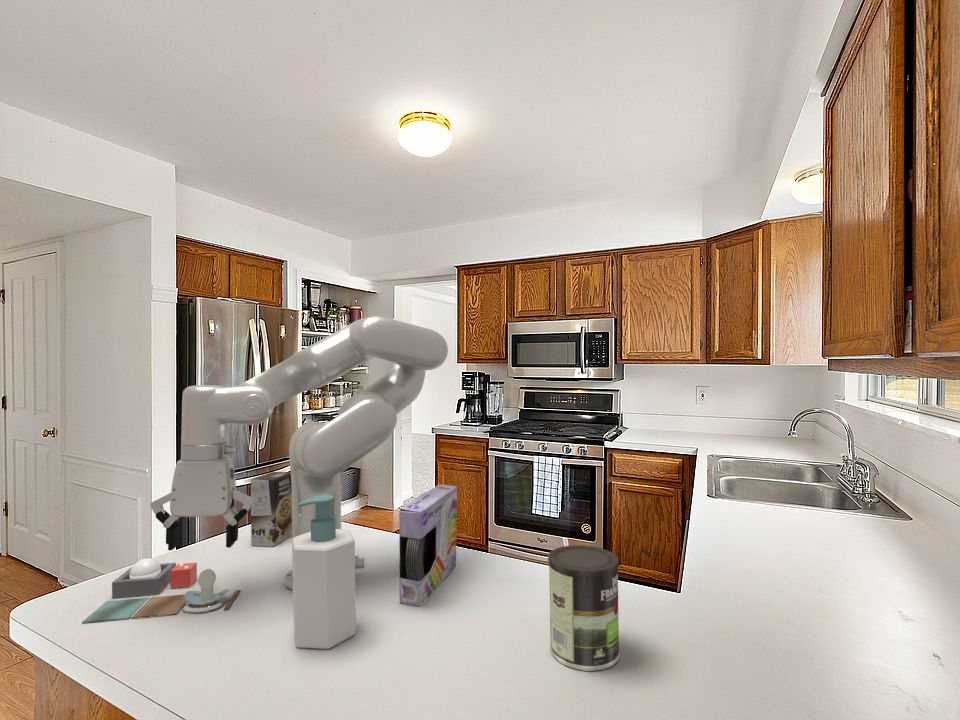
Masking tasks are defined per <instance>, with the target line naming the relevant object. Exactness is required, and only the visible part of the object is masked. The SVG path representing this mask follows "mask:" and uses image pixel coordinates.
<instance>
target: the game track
mask: <svg viewBox="0 0 960 720" xmlns="http://www.w3.org/2000/svg"><path fill="white" fill-rule="evenodd" d="M240 593H241V589H235V591H234V592H233V594H232V595H231V597H230V598H229V600H228V601H227V603H226V604H225V606H224V608H223V611H229V609H231V606H232V605H233V603H234V602H235V601H236V600H237V598H238V596H239V595H240ZM148 599H149V600H148ZM147 600H148V601H147ZM146 601H147V602H146ZM145 602H146V603H145ZM186 602H187V601H186V600H185V593H184V594H176V595H173V594H172V595H165V596H164V595H162V596H152V597H137V598H129V599H128V598H126V599H117V600H106V601H105V602H103V604H101V605H100V606H99V607H97V609H96V610H95V611H92V613H91V614H90V615H88V616H87V617H86V618H85V619H84V620H82V621H81V622H82V624H83V625H84V624H91V623H102V622H111V621H112V622H114V621H115V622H116V621H123V620H124V619H126V620H130V619H131V618H137V619H139V618H138V617H147V618H151V617H150V616H158V617H160V616H159V615H169V616H172V615H171V614H177V613H179V612H180V611H181V610H182V609H183V608H184V606H186V604H187V603H188V602H187V603H186ZM144 603H145V604H144ZM185 603H186V604H185ZM143 604H144V605H143ZM142 605H143V606H142ZM141 606H142V607H141ZM140 607H141V608H140ZM182 607H183V608H182ZM139 608H140V609H139ZM181 608H182V609H181ZM138 609H139V610H138ZM180 609H181V610H180ZM137 610H138V611H137ZM179 610H180V611H179ZM136 611H137V612H136ZM135 612H136V613H135ZM134 613H135V614H134ZM133 614H134V615H133ZM132 615H133V616H132ZM177 615H178V614H177ZM131 616H132V617H131ZM130 617H131V618H130ZM129 618H130V619H129Z"/></svg>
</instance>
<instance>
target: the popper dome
mask: <svg viewBox="0 0 960 720" xmlns="http://www.w3.org/2000/svg"><path fill="white" fill-rule="evenodd" d="M160 564H161V563H160V562H159V561H158V560H157V559H154V558H149V557H147V558H142V559H140V560H138V561H137V562H135V563H134V564H133V565H132V566H133V567H132V566H131V567H132V568H131V567H130V568H131V570H130V574H129V579H138V578H150V577H156V576H157V575H158V574H159V573H160V572H161V566H160Z"/></svg>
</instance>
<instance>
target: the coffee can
mask: <svg viewBox="0 0 960 720" xmlns="http://www.w3.org/2000/svg"><path fill="white" fill-rule="evenodd" d="M547 558H548V559H547V561H548V564H549V565H548V566H549V572H548V573H549V615H550V616H549V617H550V619H549V621H550V622H549V624H550V625H549V627H550V629H549V630H550V633H549V634H550V645H549V650H550V653H551V655H552V657H553V658H554V659H555V660H556V661H557V662H559V663H560V664H561V665H564V666H566V667H568V668H571V669H573V670H579V671H583V672H585V671H586V672H598V671H604V670H607V669H609V668H611V667H613V666H614V665H616V664H617V663H618V661H619V660H620V655H621V654H620V638H619V637H620V635H619V633H620V631H619V628H620V626H619V568H618V567H619V558H618V556H617V555H616V554H615V553H613V552H611V551H610V550H607V549H604V548H603V547H602V548H601V547H597V546H592V545H584V544H583V545H581V544H578V545H577V544H575V545H572V544H571V545H564V546H560V547H556V548H554V549H552V550H551V551H550V552H548V555H547Z"/></svg>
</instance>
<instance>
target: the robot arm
mask: <svg viewBox="0 0 960 720" xmlns="http://www.w3.org/2000/svg"><path fill="white" fill-rule="evenodd" d="M448 347H449V346H448V343H447V341H446V339H445V338H444V336H443V335H442V334H440V333H439V332H438V331H436V330H433V329H431V328H427V327H423V326H420V325H419V326H418V325H417V324H412V323H408V322H405V321H401V320H397V319H393V318H391V317H386V316H380V315H371V316H367V317H363V318H360V319H357V320H355V321H354V322H353V321H352V322H351V323H349V324H348V325H346V326H344V327H342V328H340V329H338V330H337V331H335V332H333V333H331V334H330V335H327V336H326V337H324V338H322V339H320V340H319V341H316V342H314V343H313V344H311V345H308V346H307V347H305V348H303V349H302V350H300V351H298V352H296V353H294V354H293V355H291V356H290V357H288V358H287V359H285V360H283V361H281V362H279V363H277V364H276V365H273V366H271V367H270V368H268V369H266V370H264V371H262V372H260V373H259V374H257V375H254V376H253V377H251V378H249V379H248V380H246V381H244V382H242V383H240V384H238V385H237V386H231V387H229V386H228V387H225V386H222V385H217V384H216V385H215V384H214V385H213V384H212V385H210V384H209V385H207V384H206V385H205V384H204V385H189V386H187V387H186V388H185V389H183V391H182V398H181V399H182V400H181V431H180V432H181V435H180V436H181V437H180V440H181V441H180V443H181V444H180V459H179V460H178V461H177V462H176V465H175V468H174V472H173V476H172V477H173V478H172V483H171V489H170V490H171V491H170V492H169V493H168V494H165V495H164V496H162V497H159V498H157V499H156V500H154V501H152V502H150V503H149V504H150V505H149V506H150V508H151V509H152V512H153V514H154V515H155V518H156V519H157V520H158V521H159V522H160V523H161V524H162V526H163V528H165V544H166V545H167V550H168V551H174V549H176V548H177V547H178V546H180V532H181V531H180V530H181V529H180V528H181V527H180V525H181V524H180V523H179V522H178V520H180V518H192V517H194V518H199V517H200V518H201V517H218V516H219V517H220V516H222V517H223V518H224V520H226V522H228V524H227V525H226V530H225V531H226V533H225V537H226V539H225V547H226V548H227V549H228V548H232V546H234V544H235V543H236V542H237V541H238V539H239V522H240V521H241V520H242V519H243V518H244V517H245V516H246V515H247V514H248V513H249V511H251V506H252V504H253V503H254V498H252V497H251V495H250V496H249V495H248V494H246V493H243V492H241V491H239V490H237V487H236V486H237V485H236V482H237V481H236V476H235V475H236V474H235V473H236V472H235V465H234V460H233V458H232V457H228V456H229V455H231V454H235V453H236V451H237V449H236V448H237V447H236V445H231V444H229V443H230V442H229V441H228V439H229V437H228V436H229V435H228V432H229V427H228V426H229V424H235V425H237V424H238V425H247V426H248V425H249V426H253V425H260V424H261V423H263V422H266V421H267V420H268V419H269V418H270V417H271V415H272V414H273V412H274V408H275V407H277V406H279V405H280V404H282V403H283V402H285V401H287V400H290V399H291V398H293V397H295V396H298V395H299V394H302V393H304V392H308V391H311V390H316V389H318V388H319V389H320V388H322V387H324V386H326V385H329V384H330V383H333V382H334V381H336V380H337V379H339V378H340V377H342V376H344V375H345V374H348V373H349V372H350V371H352V370H354V369H355V368H357V367H359V366H361V365H363V364H364V363H366V362H368V361H370V360H371V359H373V358H377V359H382V360H385V361H389V362H392V364H391V367H390V369H389V370H388V371H387V373H385V374H384V375H383V376H381V378H379V379H378V380H376V381H374V382H373V383H371V384H370V385H368V386H367V387H366V388H364V389H362V390H361V391H359V392H357V393H356V394H354V395H352V396H350V397H348V399H346V400H345V401H344V402H343V403H342V404H341V406H339V410H338V413H337V416H336V417H334V418H333V419H331V420H329V421H328V422H326V423H324V422H321V421H311V422H307V423H304V424H302V425H300V426H299V427H298V428H297V429H296V430H295V431H294V432H293V434H292V436H291V437H290V441H289V447H288V456H289V460H288V461H289V467H290V469H289V470H290V472H291V484H292V536H291V539H293V538H294V537H296V536H299V535H302V534H305V533H309V532H311V519H313V518H315V517H316V504H309V505H305V506H299V503H300V502H302V501H303V500H306V499H309V498H311V497H314V496H318V495H325V494H326V495H333V496H334V497H335V500H334V501H332V502H330V516H334V517H335V521H336V529H342V483H341V473H342V472H345V471H346V470H347V469H349V468H350V467H351V466H353V465H355V464H356V463H357V462H359V461H360V460H362V459H363V458H364V457H366V456H367V455H369V454H370V453H371V452H372V451H374V450H375V449H377V448H378V447H379V446H381V445H382V444H384V443H385V442H386V441H387V440H388V439H389V438H390V436H392V434H393V433H394V431H395V428H396V426H397V421H398V416H397V415H398V414H400V413H401V412H402V411H404V409H406V408H407V407H409V406H410V405H411V404H412V403H413V402H415V400H416V399H417V398H418V397H419V395H420V393H421V391H422V389H423V386H424V383H425V377H426V371H430V370H431V371H432V370H436V369H437V368H440V367H441V366H442V365H443V364H444V362H445V361H446V359H447V358H448V354H449V349H448ZM237 501H238V502H240V503H242V505H243V506H242V507H241V509H240V510H239V512H237V511H236V509H235V506H236V504H237ZM168 502H169V503H170V504H169V507H170V508H169V509H170V513H168V511H166V510H165V508H164V505H165V504H167V503H168ZM291 541H292V540H291ZM291 543H292V551H291V552H292V555H291V556H292V559H293V541H292V542H291ZM359 556H360V555H355V570H356V569H364V568H365V558H364V557H359ZM284 585H285V587H286V588H288V589H289V590H292V591H293V568H292V569H290V570H289V571H288V572H287V573H286V574H285V576H284Z"/></svg>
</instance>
